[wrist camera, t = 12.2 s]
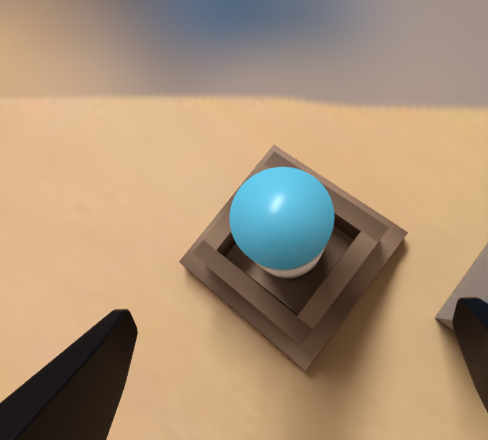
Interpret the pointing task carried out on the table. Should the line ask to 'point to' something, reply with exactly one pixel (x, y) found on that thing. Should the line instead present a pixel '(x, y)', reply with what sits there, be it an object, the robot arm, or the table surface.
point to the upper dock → (468, 288)
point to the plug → (282, 221)
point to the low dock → (306, 288)
